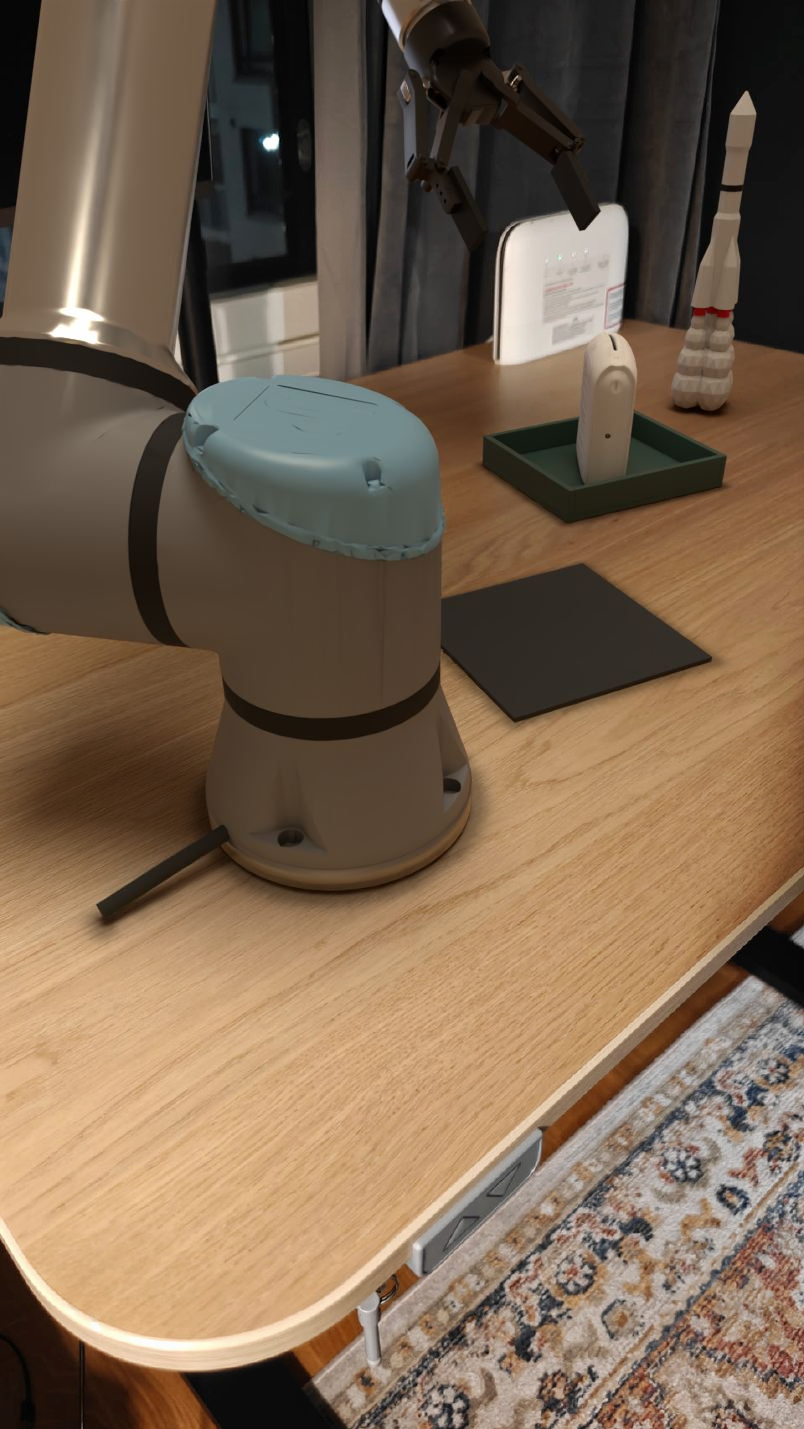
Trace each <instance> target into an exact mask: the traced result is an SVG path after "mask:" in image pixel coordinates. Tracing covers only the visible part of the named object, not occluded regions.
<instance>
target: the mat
mask: <svg viewBox="0 0 804 1429" xmlns="http://www.w3.org/2000/svg"><path fill="white" fill-rule="evenodd" d="M441 649H442V650H443V651H444V652H445V653H446V654H447V655H448V656H449V657H450V658H451V659H452V660H453V661H454V662H455V663H456V664H457V665H458V666H459V667H460V669H462V670H463V672H465V673H466V675H468V676H469V678H471V680H473V681H474V683H476V684H477V685H478V686H479V688H480V689H482V690H483V691H484V692H485V694H487V696H488V697H490V698H491V700H492V701H494V702H495V704H497V706H498V707H499V708H500V709H501V710H502V711H503V712H504V713H505V714H506V715H507V716H508V717H509V718H510V719H511V720H512V721H513V722H519V721H522V720H525V719H527V718H530V717H534V716H537V715H540V714H543V713H547V712H551V711H553V710H556V709H560V708H563V707H567V706H570V705H573V704H576V703H579V702H583V701H585V700H590V699H593V698H595V697H598V696H601V695H602V696H603V695H605V694H608V693H610V692H611V693H612V692H615V691H618V690H621V689H625V688H627V687H630V686H633V685H637V684H640V683H643V682H647V681H649V680H652V679H656V678H660V677H662V676H666V675H669V674H672V673H675V672H679V671H682V670H685V669H689V668H691V667H695V666H698V665H701V664H704V663H708V662H711V661H713V656H712V655H711V654H709V653H708V652H706V651H705V650H704V649H702V648H700V646H699V645H696V644H695V643H694V642H692V641H691V640H690V639H688V638H687V637H686V636H684V635H683V634H681V633H680V632H679V631H677V630H676V629H675V628H674V627H672V626H671V625H669V624H668V623H667V622H666V621H664V620H662V619H661V618H660V617H658V616H656V615H655V614H654V613H652V611H649V610H648V609H647V608H646V607H644V606H643V605H641V604H640V603H638V602H637V601H636V600H635V599H633V598H632V597H630V596H629V595H628V594H626V593H625V592H624V591H622V590H621V589H620V588H618V587H616V585H614V584H613V583H611V582H610V581H608V580H607V579H605V578H604V577H603V576H601V575H600V574H599V573H597V572H596V571H595V570H594V569H592V568H591V567H589V566H588V565H586V564H585V563H583V562H580V563H577V564H573V565H569V566H566V567H562V568H558V569H554V570H550V571H546V572H541V573H538V574H533V575H530V576H526V577H521V578H519V579H514V580H511V581H507V582H503V583H500V584H494V585H491V586H487V587H483V588H478V589H476V590H471V591H468V592H463V593H460V594H456V595H451V596H448V597H444V598H441Z"/></svg>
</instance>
